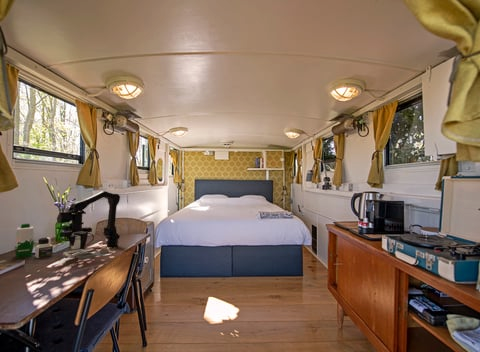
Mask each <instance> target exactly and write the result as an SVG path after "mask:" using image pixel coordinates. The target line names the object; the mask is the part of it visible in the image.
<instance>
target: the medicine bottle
mask: <svg viewBox="0 0 480 352" xmlns="http://www.w3.org/2000/svg"><path fill="white" fill-rule="evenodd" d="M51 239H52V238H51V237H48V236H47V237H41V238H39V239H38V245H35V256H34V257H35V258H37V259H40V258H45V257H50V256H53V253H54V252H53V251H54V245H52V243H51V241H52V240H51Z"/></svg>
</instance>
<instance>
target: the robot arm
mask: <svg viewBox="0 0 480 352" xmlns="http://www.w3.org/2000/svg"><path fill="white" fill-rule="evenodd" d="M103 198H104V199H107V203H108V205H109V206H108V215H107V216H108V217H107V225H106V227H103V236H105V237H106V239H107V241H106V246H107V248H112V249H114V247H115V248H119V247H118V246H119V245H118V244H119V239H120V237H121V236H120V234H118V233H117V232H118V230H117V227H116V217H117V208H118V205H119V203H120V200H121V196H120V195H119V194H118V193H112V192H108V191H106V190H101V191H99V192H98V193H95V194H92V195H91V196H89V197H87V198H84V199H81V200H77V201H74V202H72V203H71V205H70V207H69V208H68V209H67V210H66V211H63V212H62V211H59V212H58V215H57V217H56V220H57V221H56V222H57V223H58V224H64V223H69V225H66V224H65V225H62V226H61V231H60V232H59V234H58V236H59V238H67V239H68V241H69V244H70V245H71V247H72V246H74V242H75V237H76V236H74V234H76V233H77V234H78V236H81V239H80V244H81V242H82V240H83V239H84V237H85V236H86V234H88V233H92V232H93V228H92V227H89V226H88V227H87V226H85V227H83V225H84V222H83V215H85V214H87V212H86V211H84V210H85V209H86V208H87V207H88V206H89V205H91V204H93V203H95V202H97V201H100V200H101V199H103ZM78 231H79V232H78ZM86 231H87V232H88V233H86ZM88 235H89V234H88Z"/></svg>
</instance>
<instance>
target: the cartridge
mask: <svg viewBox="0 0 480 352" xmlns="http://www.w3.org/2000/svg"><path fill="white" fill-rule="evenodd" d="M74 236H76V237H75V242H74V246H71V250H74V249H79V248H80V239H81V236H78V235H74Z"/></svg>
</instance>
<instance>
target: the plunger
mask: <svg viewBox="0 0 480 352" xmlns="http://www.w3.org/2000/svg"><path fill="white" fill-rule="evenodd" d="M107 249H108V247H107V245H105V246H104V245H103V246H101V248H100V250H107Z"/></svg>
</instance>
